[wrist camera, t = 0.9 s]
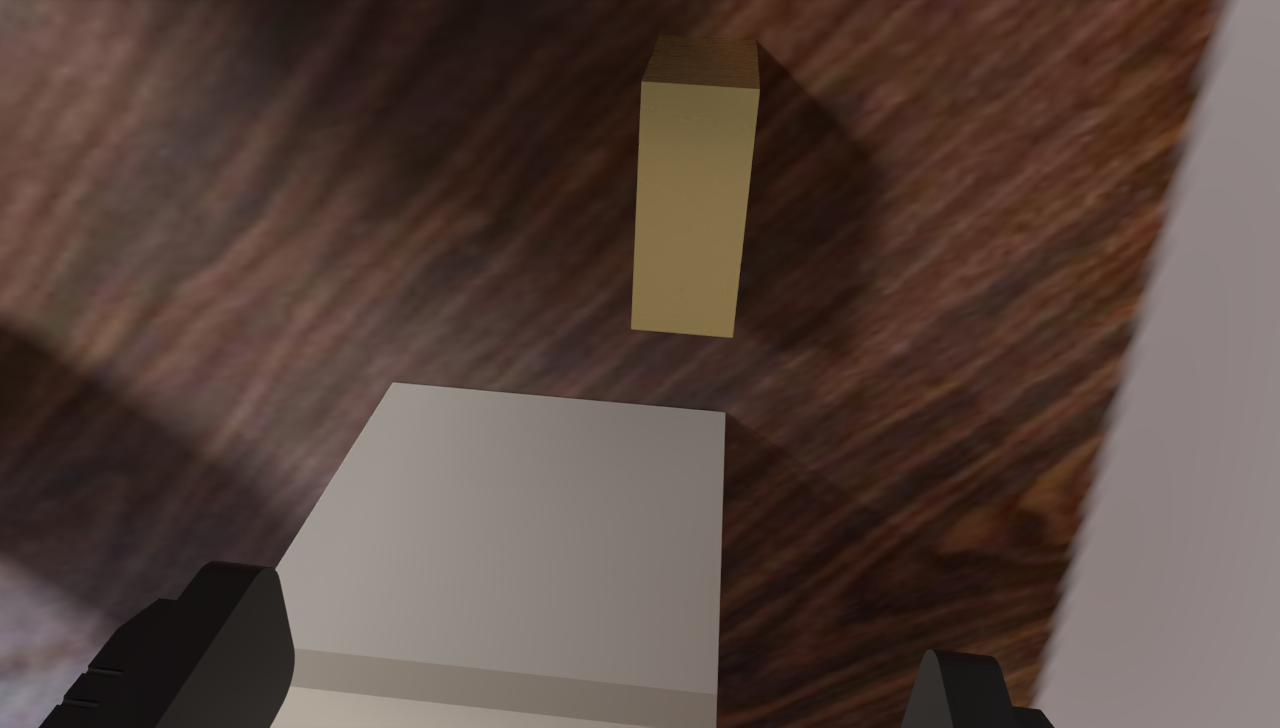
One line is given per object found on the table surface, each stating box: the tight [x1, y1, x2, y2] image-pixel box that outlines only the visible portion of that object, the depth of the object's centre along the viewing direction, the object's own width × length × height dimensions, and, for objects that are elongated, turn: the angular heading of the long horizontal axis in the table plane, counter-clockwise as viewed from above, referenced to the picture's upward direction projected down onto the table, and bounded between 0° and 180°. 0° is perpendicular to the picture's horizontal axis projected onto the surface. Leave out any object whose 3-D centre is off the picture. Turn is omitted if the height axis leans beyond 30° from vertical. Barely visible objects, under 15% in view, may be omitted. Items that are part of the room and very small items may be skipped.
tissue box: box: [270, 382, 725, 728], centre depth 27 cm, size 13×11×12 cm
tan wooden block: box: [631, 35, 760, 338], centre depth 22 cm, size 6×2×5 cm, turn 178°
